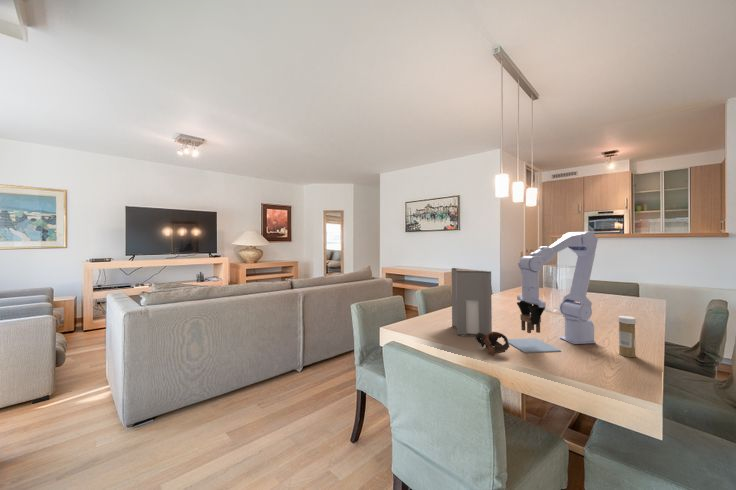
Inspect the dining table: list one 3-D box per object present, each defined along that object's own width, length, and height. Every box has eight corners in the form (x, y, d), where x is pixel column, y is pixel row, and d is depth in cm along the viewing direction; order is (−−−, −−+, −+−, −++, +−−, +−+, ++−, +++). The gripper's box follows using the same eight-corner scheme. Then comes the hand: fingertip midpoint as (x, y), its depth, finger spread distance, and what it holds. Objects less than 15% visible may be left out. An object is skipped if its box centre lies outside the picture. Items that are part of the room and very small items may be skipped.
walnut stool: (532, 329, 117) (532, 314, 118) (541, 332, 112) (540, 317, 113) (520, 329, 117) (520, 314, 117) (528, 333, 112) (528, 317, 112)
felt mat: (536, 339, 122) (536, 338, 122) (561, 351, 109) (561, 350, 109) (503, 340, 121) (503, 339, 121) (524, 353, 107) (524, 351, 107)
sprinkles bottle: (639, 356, 103) (639, 318, 102) (629, 358, 102) (628, 319, 101) (625, 352, 107) (625, 315, 107) (615, 353, 106) (615, 315, 106)
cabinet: (491, 338, 125) (491, 271, 124) (476, 342, 120) (475, 272, 120) (454, 326, 143) (453, 267, 142) (439, 329, 138) (438, 269, 138)
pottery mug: (509, 350, 112) (513, 335, 107) (502, 369, 105) (506, 353, 101) (477, 337, 118) (479, 322, 114) (469, 353, 112) (471, 338, 107)
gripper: (509, 284, 122) (510, 317, 122) (532, 290, 107) (532, 328, 107) (526, 284, 122) (526, 317, 122) (550, 290, 108) (551, 327, 108)
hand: (530, 322), depth 115 cm, fingers closed on walnut stool, 5 cm apart
